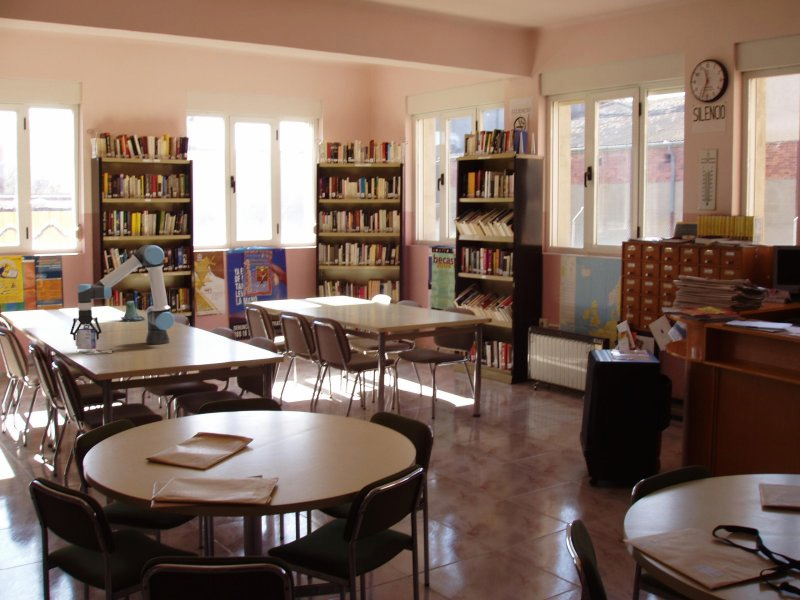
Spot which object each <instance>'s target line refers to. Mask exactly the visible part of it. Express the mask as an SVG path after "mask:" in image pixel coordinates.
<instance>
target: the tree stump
mask: <svg viewBox="0 0 800 600" xmlns="http://www.w3.org/2000/svg"><path fill="white" fill-rule="evenodd" d="M125 305H126V306H125V308H126V309H125V310H126V311H125V313H124V316H123V317H120V319H121V320H122V321H124V322H143V321H146V320H147V318H145V317H144V316H143V315H141V314H140V312H139V311H138V310H137V308H136V306H135V305H136V304H135V301H134V300H128V301H126V302H125Z"/></svg>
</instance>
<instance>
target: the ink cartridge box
mask: <svg viewBox="0 0 800 600" xmlns="http://www.w3.org/2000/svg"><path fill="white" fill-rule="evenodd" d="M90 327H91V326H90V325H89V324H88V325H86V324H85V325H83V327H82V328H79V330H78V331H77V333H76V335H77V346H76V347H77V348H76V350H96V349H97V345H96V343H95V334H96V333H95V331H94V329H92V328H90Z"/></svg>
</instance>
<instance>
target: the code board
mask: <svg viewBox="0 0 800 600" xmlns="http://www.w3.org/2000/svg"><path fill="white" fill-rule="evenodd" d="M107 349H108V348H107ZM107 349H81V350H79V351H78V352H77V354H86V355H95V354H94V352H95V350H96V351H98V352H100V353H108V352H102V351H105V350H107Z"/></svg>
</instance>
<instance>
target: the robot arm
mask: <svg viewBox="0 0 800 600" xmlns="http://www.w3.org/2000/svg"><path fill="white" fill-rule="evenodd" d="M164 259H165V252H164V250H163V248H161V247H160V246H158V245H155V244H145V245H143V246H141V247H140V248H139V249H137V250H136V251H135V252H133V253H132V254H131V257H130V258H128V259H127V260H126V261H125V262H123V263H122V264H120V265H119V266H118V267H115V269H113V270H112V271H111V272H109V273H108V274H106V276H104V277H103V278H101V279H100V280H99V281H97V282H96V283H94V284H90V283H80V284H78V285H77V305H78V306H77V307H78V317H77V318H76V317H75V318H74V317H73V319H72V322H73V323H72V326H71V328H70V333H69V334H70V335H72V336H73V341H75V347H77V331H78V330H79V329H81V326H84V325H90V326H89V327H91V329H94V331H95V343H96V346H97V345H98V340H99V339H100V335H99V334H101V333H103V331H102V328H101V326H100V324H99V322H98V317H93V316H92V315H93V314H92V300H103V299H104V300H106V299H110V298H111V297H112V295H113V294H112V293H113V292H112V288H113V286H115V285H117V284H118V283H119V282H121V281H122V280H123V279H125V278H126V277H127V276H128V275H130V274H131V273H133V272H134V271H135V270H137V269H138V268H142V267H143V266H144V268H145V269H146V270H147V271H148V272H147V273H148V278H149V284H150V290H151V291H150V292H151V296H152V304H153V307H150V308H147V313H146V317H147V318H146V319H147V333H146V337H145V344H146V345H164V344H169V343H170V342H171V341H170V337H169V334H168V331H167V330H170V329H171V328H172V327H173V326H174V325H175V320H176V319H175V315H174V314H173V313H172V308H171V306H170V305H168V297H167V291H166V286H165V285H166V284H165V280H164V272H163V267H164V266H165V264H164ZM92 321H93V322H94V323H95V325H96V327H97V328H96V327H95V325H94V324H93V323H92ZM77 322H79V324H78V326H77V327H76V325H77V324H76V323H77ZM75 327H76V329H75ZM74 329H75V331H74Z"/></svg>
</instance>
